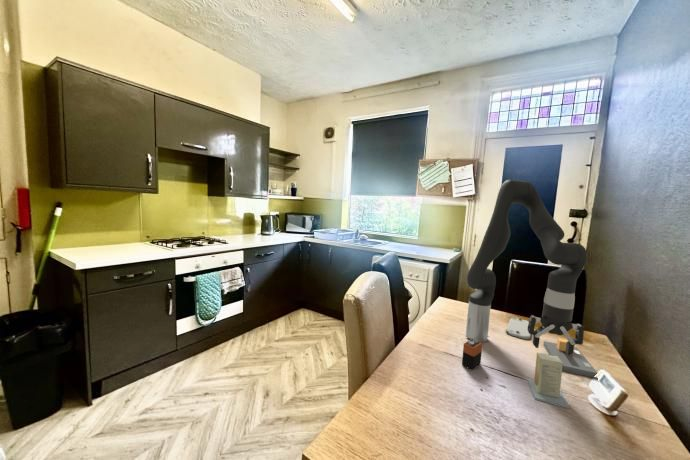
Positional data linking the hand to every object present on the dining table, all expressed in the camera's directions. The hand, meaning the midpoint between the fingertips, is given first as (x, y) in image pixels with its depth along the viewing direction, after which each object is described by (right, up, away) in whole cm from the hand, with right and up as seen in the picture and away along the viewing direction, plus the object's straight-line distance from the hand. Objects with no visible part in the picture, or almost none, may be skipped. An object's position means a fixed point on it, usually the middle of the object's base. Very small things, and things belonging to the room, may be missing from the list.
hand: (551, 350), depth 88 cm
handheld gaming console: (+21, -12, +49) cm, 55 cm away
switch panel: (+24, -14, +22) cm, 36 cm away
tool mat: (-1, -15, +1) cm, 15 cm away
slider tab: (+26, -12, +26) cm, 38 cm away
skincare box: (-1, -15, +2) cm, 15 cm away
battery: (-19, -13, +16) cm, 28 cm away
